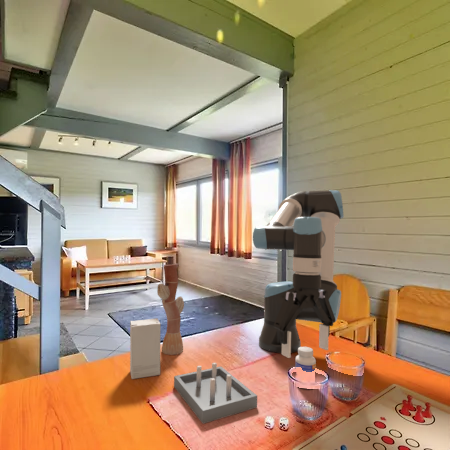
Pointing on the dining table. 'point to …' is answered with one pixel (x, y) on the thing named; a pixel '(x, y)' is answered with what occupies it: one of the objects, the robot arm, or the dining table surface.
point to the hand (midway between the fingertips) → (305, 352)
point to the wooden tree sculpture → (171, 310)
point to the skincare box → (145, 348)
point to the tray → (214, 393)
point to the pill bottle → (305, 359)
